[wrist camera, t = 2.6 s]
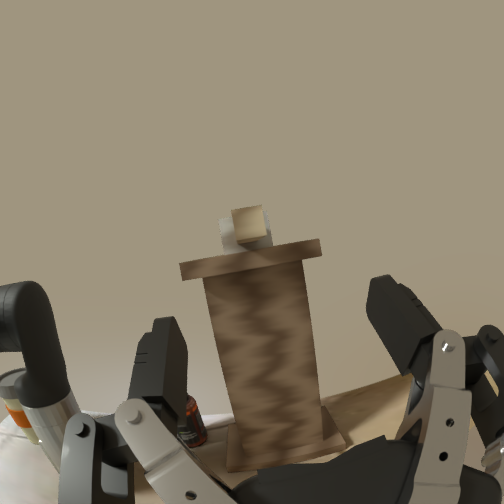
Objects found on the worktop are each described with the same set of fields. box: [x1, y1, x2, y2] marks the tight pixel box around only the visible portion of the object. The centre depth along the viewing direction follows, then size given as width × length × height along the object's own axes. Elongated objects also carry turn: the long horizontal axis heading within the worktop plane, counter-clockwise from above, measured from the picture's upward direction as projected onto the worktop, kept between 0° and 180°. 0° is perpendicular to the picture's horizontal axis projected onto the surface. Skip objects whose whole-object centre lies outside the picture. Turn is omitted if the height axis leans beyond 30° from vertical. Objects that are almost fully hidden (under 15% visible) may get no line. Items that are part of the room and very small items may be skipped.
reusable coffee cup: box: [0, 367, 40, 445], centre depth 34 cm, size 13×13×15 cm
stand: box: [179, 239, 346, 473], centre depth 36 cm, size 18×12×32 cm, turn 93°
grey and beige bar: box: [218, 205, 273, 255], centre depth 30 cm, size 6×19×4 cm, turn 3°
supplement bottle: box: [177, 393, 207, 447], centre depth 40 cm, size 6×6×11 cm
